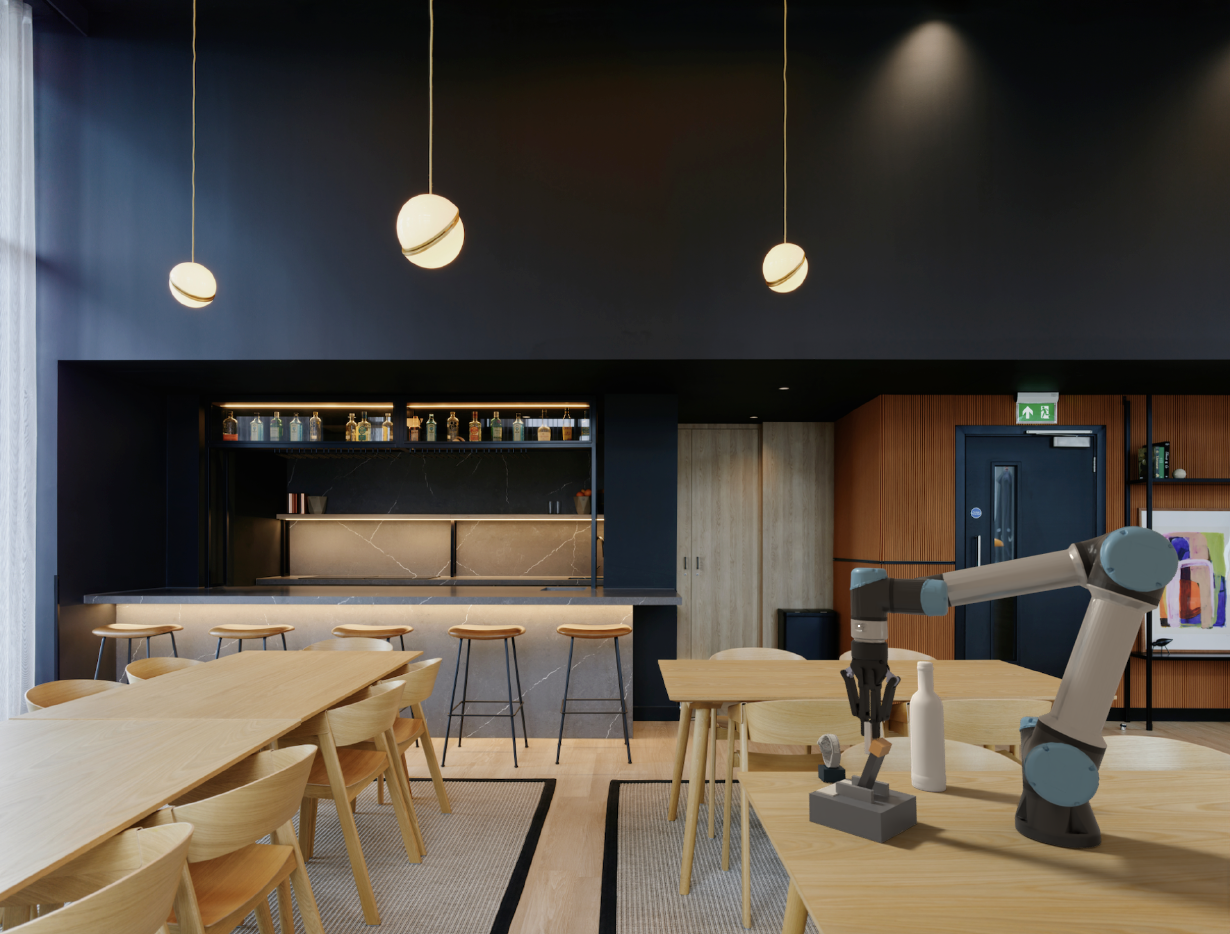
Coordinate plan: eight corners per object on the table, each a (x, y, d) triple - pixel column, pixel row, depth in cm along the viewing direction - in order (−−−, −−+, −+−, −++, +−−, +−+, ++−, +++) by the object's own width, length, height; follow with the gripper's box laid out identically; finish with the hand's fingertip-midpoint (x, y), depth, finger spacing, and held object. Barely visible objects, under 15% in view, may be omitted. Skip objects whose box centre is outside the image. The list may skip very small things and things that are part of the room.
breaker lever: (874, 790, 157) (892, 743, 155) (864, 794, 154) (882, 747, 152) (864, 783, 159) (882, 737, 157) (854, 787, 156) (872, 740, 154)
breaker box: (916, 823, 156) (915, 784, 157) (881, 843, 145) (880, 800, 146) (847, 804, 167) (846, 767, 168) (809, 820, 156) (809, 781, 157)
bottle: (912, 790, 178) (909, 663, 182) (909, 780, 186) (906, 659, 189) (948, 793, 176) (944, 665, 179) (944, 784, 183) (940, 660, 187)
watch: (836, 774, 189) (836, 730, 191) (848, 784, 181) (847, 738, 183) (815, 774, 189) (814, 730, 190) (825, 784, 181) (825, 738, 182)
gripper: (833, 637, 161) (834, 749, 158) (890, 644, 151) (891, 763, 149) (850, 635, 166) (851, 743, 163) (906, 642, 157) (908, 756, 154)
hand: (870, 753), depth 156 cm, fingers closed
